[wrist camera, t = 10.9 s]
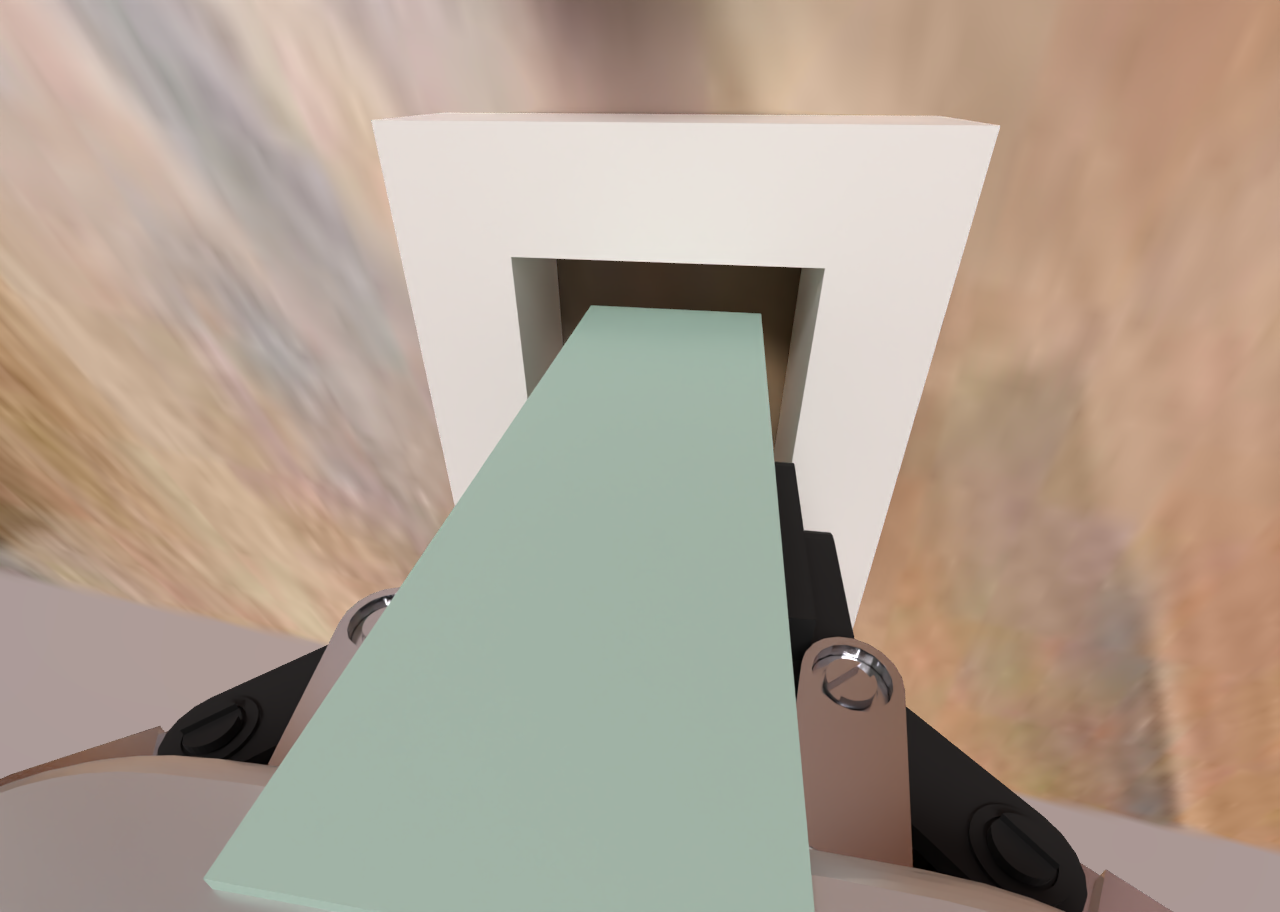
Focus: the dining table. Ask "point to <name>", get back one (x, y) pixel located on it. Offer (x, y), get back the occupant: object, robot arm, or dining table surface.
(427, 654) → the peg
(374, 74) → the dining table surface
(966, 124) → the socket block
